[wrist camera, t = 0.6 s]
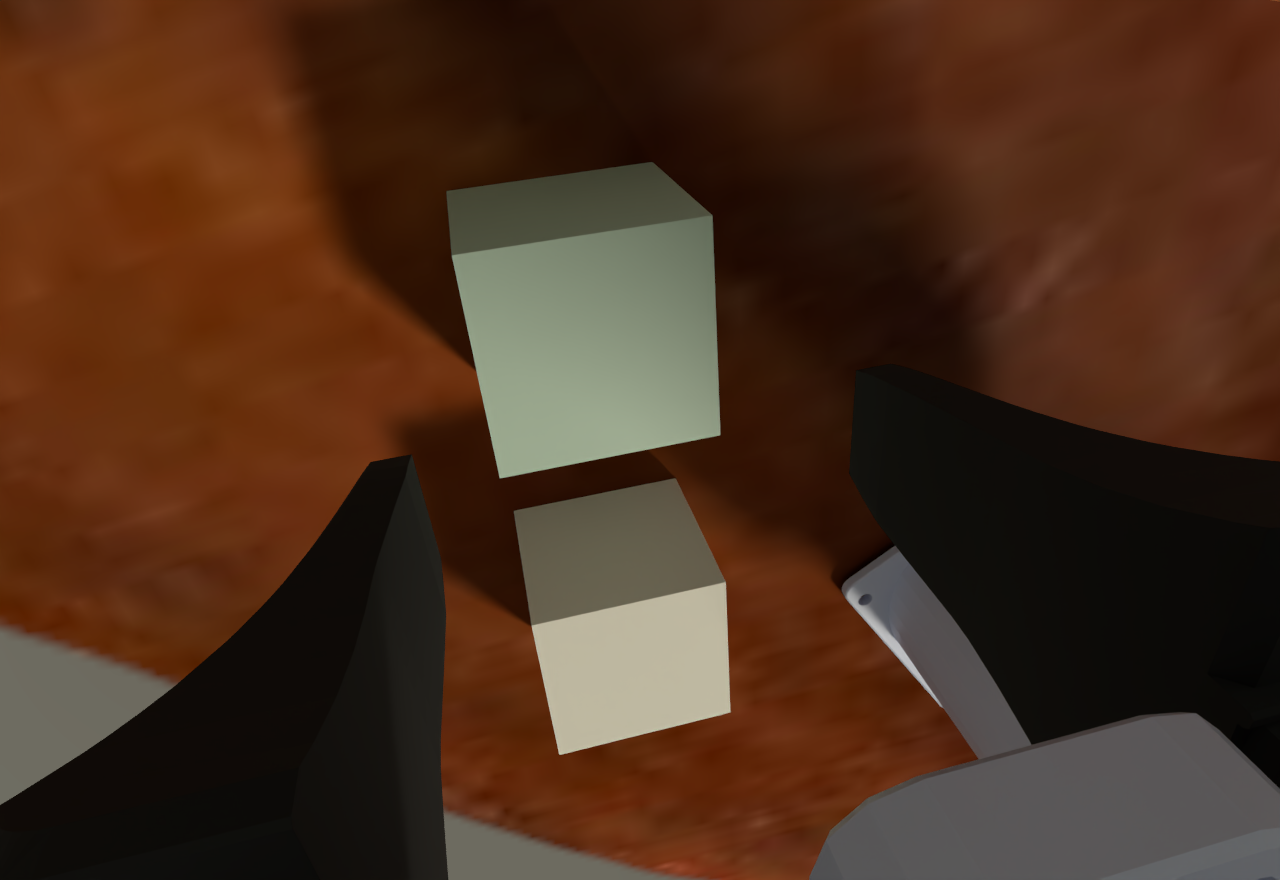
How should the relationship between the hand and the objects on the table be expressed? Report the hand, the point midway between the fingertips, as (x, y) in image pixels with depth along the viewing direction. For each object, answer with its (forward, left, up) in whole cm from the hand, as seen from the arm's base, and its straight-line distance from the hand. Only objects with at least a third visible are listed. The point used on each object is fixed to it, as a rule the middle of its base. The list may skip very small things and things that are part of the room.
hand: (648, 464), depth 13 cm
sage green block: (0, 0, -9) cm, 9 cm away
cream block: (-8, +5, -9) cm, 13 cm away
